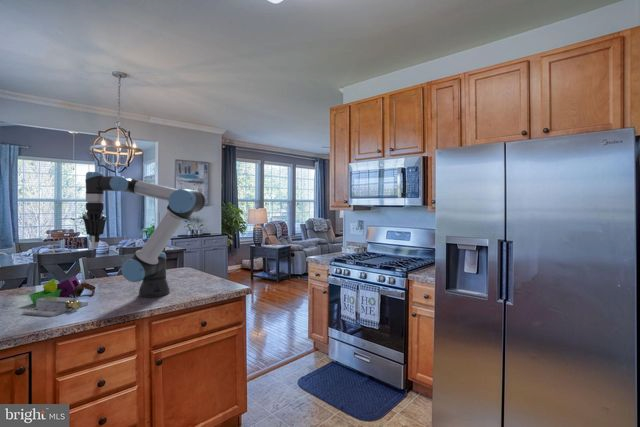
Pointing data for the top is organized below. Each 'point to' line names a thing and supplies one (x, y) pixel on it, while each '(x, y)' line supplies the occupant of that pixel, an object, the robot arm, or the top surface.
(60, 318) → the top surface
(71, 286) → the mounting bracket
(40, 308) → the hinge
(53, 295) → the fruit basket
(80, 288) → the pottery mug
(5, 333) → the top surface
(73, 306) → the pin
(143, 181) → the robot arm
